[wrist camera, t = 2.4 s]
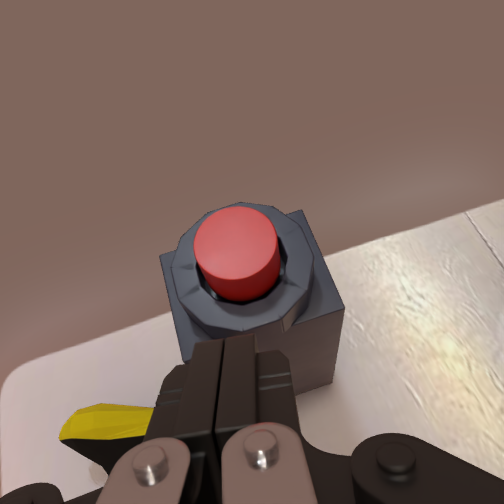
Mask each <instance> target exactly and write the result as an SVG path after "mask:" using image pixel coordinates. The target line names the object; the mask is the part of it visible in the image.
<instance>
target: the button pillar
mask: <svg viewBox="0 0 504 504" xmlns="http://www.w3.org/2000/svg"><path fill="white" fill-rule="evenodd" d="M237 206H241V207H249V208H252V209H255V210H257V211H259V212H261V213H263V214H264V215H265V216H266V217H268V219H269V220H270V221H271V222H272V224H273V225H274V227H275V230H276V233H277V239H278V247H279V254H280V261H281V268H280V273H279V276H278V279H277V281H276V282H275V284H274V285H273V286H272V288H271V289H270V290H269V291H267V292H266V293H265V294H263V295H262V296H260V297H258V298H256V299H253V300H249V301H231V300H227V299H225V298H223V297H221V296H219V295H218V294H216V293H215V292H214V291H213V290H212V289H211V288H210V286H209V285H208V283H207V281H206V279H205V277H204V275H203V273H202V271H201V269H200V267H199V265H198V263H197V261H196V258H195V255H194V250H193V244H194V238H195V235H196V233H197V230H198V229H199V227H200V226H201V224H202V223H203V222H204V221H205V220H206V219H207V218H208V217H209V216H211V215H212V214H214V213H215V212H217V211H219V210H222V209H225V208H229V207H237ZM159 258H160V262H161V266H162V271H163V275H164V280H165V284H166V288H167V293H168V298H169V302H170V306H171V311H172V315H173V320H174V324H175V329H176V333H177V338H178V342H179V346H180V351H181V355H182V360H183V362H184V363H185V364H190V360H191V356H192V352H193V348H194V345H195V343H197V342H203V341H209V340H216V339H222V338H224V339H225V340H226V338H228V337H234V336H240V335H247V334H253V333H255V335H256V339H257V344H258V349H259V353H260V352H266V351H272V350H279V351H281V352H282V353H283V354H284V355H285V356H286V357H287V358H288V359H289V364H290V370H291V376H292V382H293V387H294V393H295V395H297V394H300V393H303V392H306V391H309V390H312V389H315V388H318V387H321V386H324V385H327V384H330V383H332V381H333V376H334V370H335V364H336V358H337V352H338V347H339V341H340V335H341V329H342V323H343V317H344V312H345V306H344V304H343V302H342V299H341V297H340V295H339V292H338V290H337V288H336V286H335V283H334V281H333V279H332V277H331V274H330V272H329V270H328V267H327V265H326V263H325V261H324V258H323V256H322V254H321V251H320V249H319V247H318V245H317V242H316V240H315V238H314V236H313V233H312V231H311V229H310V227H309V225H308V222H307V220H306V217H305V215H304V213H303V211H302V210H298V211H295V212H292V213H289V214H286V215H285V214H283V213H282V212H280V211H279V210H278V209H276V208H275V207H273V206H267V205H259V204H252V203H243V202H239V203H235V204H232V205H229V206H226V207H223V208H220V209H217V210H214V211H210V212H208V213H207V214H205V215H204V216H203V217H202V218H201V219H200V220H199V221H197V222H196V223H195V224H194V225H193V226H192V227H191V228H190V229H189V230H188V231H187V232H186V233H185V234H183V236H182V237H181V238H180V241H179V244H178V247H177V249H176V250H174V251H171V252H168V253H165V254H162V255H160V256H159Z"/></svg>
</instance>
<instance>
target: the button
mask: <svg viewBox="0 0 504 504" xmlns="http://www.w3.org/2000/svg"><path fill="white" fill-rule="evenodd" d="M193 250H194V255H195V258H196V261H197V263H198V265H199V267H200V269H201V271H202V273H203V275H204V277H205V279H206V281H207V283H208V285H209V286H210V288H211V289H212V290H213V291H214V292H215V293H216V294H218V295H219V296H221V297H223V298H225V299H227V300H231V301H249V300H253V299H256V298H258V297H260V296H262V295H263V294H265V293H266V292H267V291H269V290H270V289H271V288H272V286H273V285H274V284H275V282H276V281H277V279H278V276H279V273H280V268H281V261H280V254H279V247H278V239H277V233H276V230H275V227H274V225H273V224H272V222H271V221H270V220H269V219H268V217H266V216H265V215H264V214H263V213H261V212H259V211H257V210H255V209H252V208H249V207H241V206H237V207H229V208H225V209H222V210H219V211H217V212H215V213H214V214H212V215H211V216H209V217H208V218H207V219H206V220H205V221H204V222H203V223H202V224H201V226H200V227H199V229H198V230H197V233H196V235H195V238H194V244H193Z"/></svg>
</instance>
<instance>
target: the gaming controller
mask: <svg viewBox="0 0 504 504" xmlns="http://www.w3.org/2000/svg"><path fill="white" fill-rule="evenodd" d="M153 410H154V408H148V407H138V406H126V405H115V404H103V403H100V404H97V405H93V406H90V407H86V408H83V409H79V410H77V411H76V412H75V413H74V414H73V415H72V416H71V417H70V418H69V419H68V420H67V422H66V423H65V424H64V425H63V427H62V429H61V432H60V435H59V440H60V441H61V442H62V443H63V444H65V445H67V446H68V447H70V448H71V449H73V450H75V451H76V452H78V453H80V454H81V455H83V456H85V457H87V458H88V459H90V460H92V461H94V462H95V463H97V464H99V465H101V466H102V467H103V468H104V470H105V471H106V472H107V474H108V476H109V475H110V473H111V471H112V469H113V467H114V466H115V464H116V463H117V461H118V460H119V459H120V458H121V457H122V456H123V455H124V454H125V453H126V452H128V451H129V450H130V449H132V448H133V447H135V446H137V445H139V444H141V443H142V442H143V439H144V436H145V433H146V430H147V427H148V424H149V422H150V419H151V416H152V413H153Z"/></svg>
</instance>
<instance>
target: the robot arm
mask: <svg viewBox="0 0 504 504" xmlns="http://www.w3.org/2000/svg"><path fill="white" fill-rule="evenodd" d="M159 393H160V395H158V398H157V401H156V407H154V410H153V413H152V416H151V419H150V422H149V424H148V427H147V430H146V433H145V436H144V439H143V442H142V443H141V444H139V445H137V446H135V447H133V448H132V449H130V450H129V451H128V452H126V453H125V454H124V455H123V456H122V457H121V458H120V459H119V460H118V461H117V463H116V464H115V466H114V467H113V469H112V471H111V473H110V475H109V477H108V479H107V481H106V483H105V485H104V487H101V488H99V489H97V490H94V491H92V492H89V493H87V494H84V495H82V496H79V497H77V498H74V499H72V500H69V501H66V502H64V500H63V498H62V495H61V492H60V490H59V489H58V488H57V487H56V486H55V485H53V484H49V483H34V484H30V485H26V486H23V487H20V488H18V489H16V490H14V491H12V492H10V493H8V494H6V495H4V496H3V497H1V498H0V504H504V480H502V479H500V478H498V477H496V476H494V475H492V474H490V473H488V472H486V471H484V470H482V469H480V468H478V467H476V466H474V465H472V464H470V463H468V462H466V461H464V460H462V459H460V458H458V457H456V456H454V455H452V454H450V453H448V452H446V451H443V450H441V449H439V448H437V447H435V446H433V445H431V444H429V443H427V442H425V441H423V440H421V439H419V438H416V437H414V436H410V435H406V434H400V433H385V434H379V435H376V436H372V437H370V438H368V439H366V440H364V441H363V442H361V443H360V444H359V445H358V446H357V447H356V448H355V450H354V451H353V453H352V456H344V455H336V454H330V453H327V452H324V451H321V450H319V449H317V448H315V447H313V446H312V445H310V444H309V443H308V442H307V441H306V440H305V439H304V437H303V436H302V434H301V430H300V424H299V417H298V411H297V405H296V399H295V393H294V387H293V382H292V376H291V370H290V364H289V359H288V358H287V357H286V356H285V355H284V354H283V353H282V352H281V351H279V350H272V351H266V352H260V353H259V349H258V344H257V339H256V335H255V333H253V334H247V335H240V336H234V337H228V338H226V340H225V339H224V338H222V339H216V340H209V341H203V342H197V343H195V345H194V348H193V352H192V356H191V360H190V364H184V365H177V366H176V367H175V368H174V369H173V370H172V371H171V372H170V373H169V374H168V375H167V376H166V377H165V378H164V380H163V383H162V386H161V389H160V392H159Z"/></svg>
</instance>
